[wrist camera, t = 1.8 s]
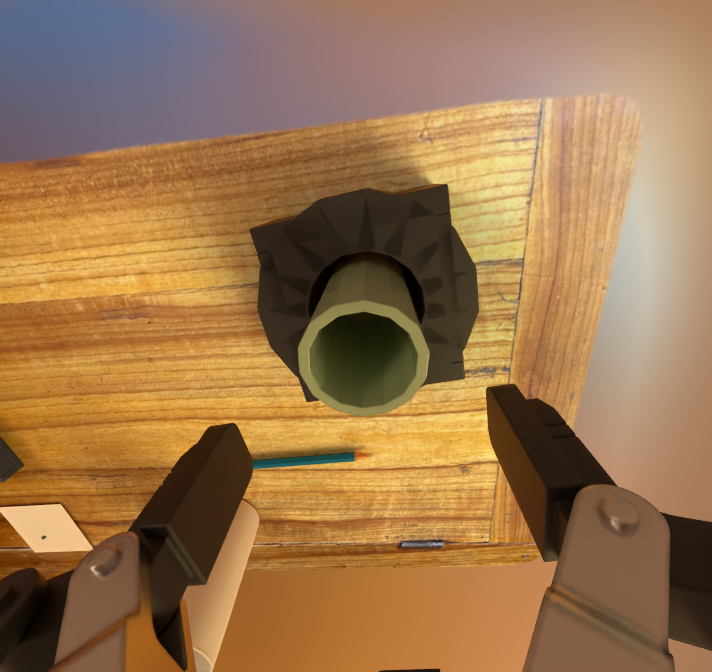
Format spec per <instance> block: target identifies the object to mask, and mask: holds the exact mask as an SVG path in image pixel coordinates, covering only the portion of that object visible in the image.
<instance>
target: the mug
mask: <svg viewBox="0 0 712 672" xmlns="http://www.w3.org/2000/svg"><path fill="white" fill-rule="evenodd" d="M258 525H259V516H258V513H257V511H256V510H255V509H254V507H253V506H251V505H250V504H249V503H247V502H246V501H244V500H242V501H241V503H240V505H239V508H238V510H237V512H236V515H235V517H234V519H233V522H232V524H231V527H230V529H229V531H228V534H227V536H226V538H225V541H224V543H223V545H222V548H221V550H220V552H219V555H218V557H217V560H216V562H215V564H214V567H213V569H212V571H211V574H210V576H209V578H208V581H207V583H206V585H196V586H187V588H186V590H185V593H184V595H183V599H184V600H185V602H186V605H187V612H188V619H189V625H190V632H191V639H192V645H193V652H194V659H195V665H196V672H212V671H213V667H214V664H215V660H216V658H217V655H218V652H219V649H220V646H221V643H222V640H223V637H224V634H225V630H226V627H227V624H228V621H229V618H230V614H231V611H232V608H233V605H234V602H235V598H236V595H237V592H238V589H239V585H240V582H241V579H242V576H243V573H244V570H245V567H246V564H247V561H248V558H249V554H250V551H251V548H252V545H253V542H254V539H255V535H256V532H257V528H258Z"/></svg>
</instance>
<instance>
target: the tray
mask: <svg viewBox="0 0 712 672" xmlns="http://www.w3.org/2000/svg"><path fill="white" fill-rule="evenodd" d="M23 466H24V465H23V464H22V462H21V461H20V460H19V459H18V458H17V457H16V455H15V454H14V453H13V452H12V451H11V449H10V448H9V447H8V446H7V445H6V443H5V442H4V441H3V440H2V439H1V438H0V482H4V481H6V480H7V479H8V478H9V477H11V476H12V475H13V474H14V473H16V472H17V471H18V470H19V469H21V468H22V467H23Z"/></svg>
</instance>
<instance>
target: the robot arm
mask: <svg viewBox="0 0 712 672" xmlns="http://www.w3.org/2000/svg"><path fill="white" fill-rule="evenodd" d="M486 400H487V417H488V430H489V436H490V440H491V444H492V447H493V449H494V452H495V454H496V456H497V458H498V460H499V463H500V465H501V467H502V469H503V472H504V474H505V476H506V478H507V480H508V483H509V485H510V487H511V489H512V492H513V494H514V496H515V498H516V500H517V503H518V505H519V507H520V509H521V511H522V514H523V516H524V518H525V520H526V523H527V525H528V527H529V529H530V531H531V534H532V536H533V538H534V540H535V542H536V545H537V547H538V549H539V551H540V554H541V556H542V558H543V560H544V562H549V561H558V563H557V566H556V570H555V574H554V578H553V581H552V584H551V586H550V587H548V588H547V589H546V591H545V594H544V597H543V600H542V603H541V607H540V610H539V614H538V618H537V621H536V624H535V628H534V632H533V635H532V639H531V642H530V646H529V649H528V653H527V657H526V660H525V664H524V667H523V671H522V672H675V666H674V659H673V656H672V654H670V653H669V648H668V638H670V639H673V640H676V641H680V642H683V643H687V644H691V645H693V646H697V647H700V648H704V649H707V650H710V651H712V522H707V521H701V520H695V519H689V518H684V517H678V516H673V515H669V514H665V513H662V512H659V511H658V509H656V508H655V507H654V506H653V505H652V504H651V503H650V502H648V501H647V500H646V499H644V498H642V497H641V496H639V495H637V494H635V493H633V492H631V491H629V490H626V489H624V488H620V487H618V486H617V485H616V484H615V483H614V481H613V480H612V479H611V478H610V476H609V475H608V474H607V473H606V471H605V470H604V469H603V468H602V466H601V465H600V464H599V463H598V462H597V460H596V459H595V458H594V457H593V455H592V454H591V453H590V452H589V450H588V449H587V448H586V447H585V446H584V444H583V443H582V442H581V440H580V439H579V438H578V437H576V436H575V433H574V432H573V431H572V429H571V428H570V427H569V426H568V425H566V422H565V421H564V419H563V418H562V417H561V416H560V415H559V413H558V412H557V411H556V410H555V408H553V407H551V406H550V405H548V404H546V403H545V402H543V401H541V400H540V399H538V398H535V399H528V400H526V399H525V397H524V396H523V395H522V393H521V392H520V390H519V389H518V388H517V386H516V385H515V384H507V385H500V386H493V387H487V389H486ZM252 472H253V462H252V458H251V455H250V453H249V451H248V448H247V446H246V444H245V442H244V440H243V437H242V435H241V433H240V431H239V428H238V427H237V425H236V424H234V423H229V424H222V425H215V426H210V427H209V428H208V429H207V430H206V431H205V433H204V434H203V436H202V437H201V438H200V440H199V441H198V443H197V444H195V445H194V446H192V447H191V448H190V449H189V450H188V451H187V452H186V453H185V454H183V455H182V456H181V457H180V459H179V460H178V462H177V463H176V464H175V466H174V467H173V469H172V470H171V473H169V474H168V476H167V477H166V478H165V480H164V481H163V485H160V487H159V488H158V490H157V491H156V492H155V494H154V495H153V497H152V498H151V499H150V501H149V502H148V503H147V505H146V506H145V508H144V509H143V510H142V512H141V513H140V515H139V516H138V517H137V519H136V520H135V522H134V523H133V524H132V526H131V527H130V529H129V530H128V531H127V532H122V533H118V534H116V535H113V536H111V537H109V538H107V539H106V540H104V541H103V542H101V543H100V544H98V545H97V546H96V547H95V548H93V549H92V550H91V551H90V552H89V553H88V554H87V555H86V556H85V557H84V558H83V559H82V560H81V562H80V563H79V564H78V566H77V567H76V569H74V570H71V571H69V572H66V573H64V574H61V575H59V576H56V577H53V578H51V579H48V580H46V579H45V578H44V577H43V576H42V575H41V574H40V573H39V572H38V571H37V570H36V569H34V568H26V569H22V570H19V571H17V572H15V573H12V574H10V575H9V576H7V577H5V578H3V579H2V580H0V671H1V672H196V665H195V659H194V652H193V645H192V639H191V632H190V625H189V619H188V612H187V605H186V602H185V600H184V599H183V595H184V593H185V590H186V588H187V586H196V585H206V583H207V581H208V578H209V576H210V574H211V571H212V569H213V567H214V564H215V562H216V560H217V557H218V555H219V552H220V550H221V548H222V545H223V543H224V541H225V538H226V536H227V534H228V531H229V529H230V527H231V524H232V522H233V519H234V517H235V515H236V512H237V510H238V508H239V505H240V503H241V501H242V498H243V496H244V493H245V491H246V489H247V486H248V484H249V482H250V479H251V477H252ZM379 672H440V669H415V670H386V671H385V670H383V671H379Z"/></svg>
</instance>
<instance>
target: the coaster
mask: <svg viewBox="0 0 712 672" xmlns="http://www.w3.org/2000/svg"><path fill="white" fill-rule="evenodd" d="M0 512H1V513H2V514H3V515H4V517H5V518H6V519H7V520H8V521H9V523H10V524H11V525H12V526H13V527H14V528H15V530H16V531H17V532H18V533H19V534H20V535H21V537H22V538H23V539H24V540H25V541H26V542H27V544H28V545H29V546H30V547H31V548H32V549H33V551H34V552H60V551H87V550H92V549H93V547H92V546H91V545H90V543H89V542H88V541H87V539H86V538H85V537H84V535H83V534H82V532H81V531H80V530H79V528H78V527H77V526H76V524H75V523H74V521H73V520H72V519H71V517H70V516H69V515H68V513H67V512H66V511H65V509H64V508H63V506H62V505H61V504H53V505H35V506H16V507H0Z"/></svg>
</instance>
